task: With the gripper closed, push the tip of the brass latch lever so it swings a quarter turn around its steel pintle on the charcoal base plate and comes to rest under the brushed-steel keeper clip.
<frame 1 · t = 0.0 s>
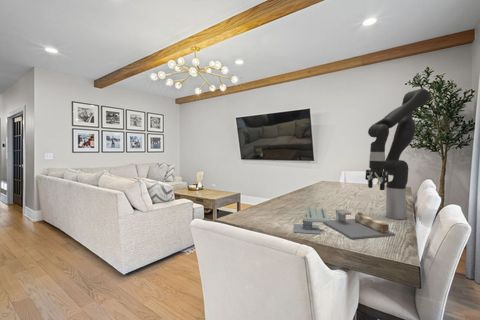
hand: (375, 188, 129), 17 cm above the table, tool pointing down, fingers open, 8 cm apart
steel keeper: (343, 216, 121), point 4 cm above the table
shower valve: (309, 230, 114), on the table
base plate: (359, 224, 121), on the table
brass latch lever: (370, 222, 114), point 3 cm above the table, hinge at 90.0°
metal bracket: (316, 218, 134), on the table
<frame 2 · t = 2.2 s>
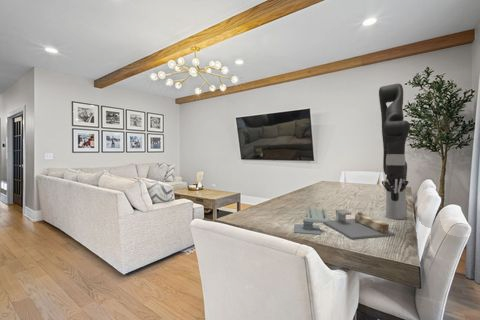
hand: (394, 200, 107), 15 cm above the table, tool pointing down, fingers closed
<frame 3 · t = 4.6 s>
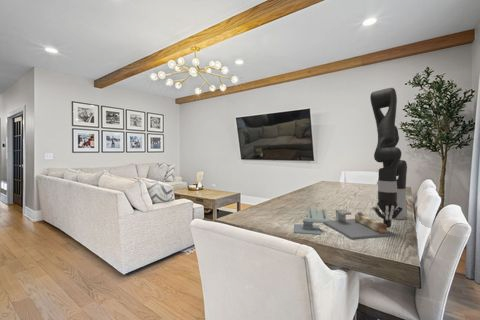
hand: (387, 227, 107), 3 cm above the table, tool pointing down, fingers closed
brass latch lever: (369, 222, 114), point 3 cm above the table, hinge at 86.5°, touching gripper
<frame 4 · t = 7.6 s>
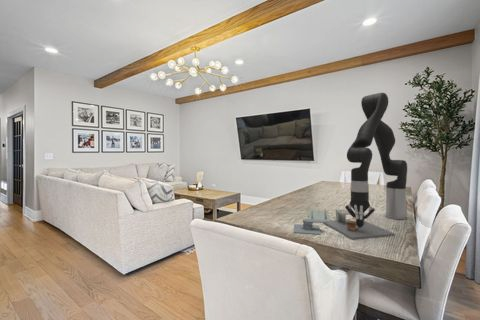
hand: (359, 226, 108), 3 cm above the table, tool pointing down, fingers closed
brass latch lever: (356, 221, 116), point 3 cm above the table, hinge at 39.1°, touching gripper
metal bracket: (318, 220, 131), on the table
everything else where it was.
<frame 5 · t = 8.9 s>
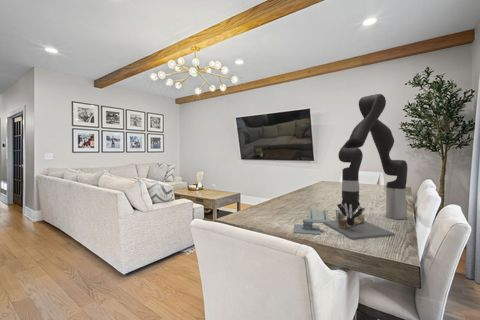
hand: (350, 225, 110), 3 cm above the table, tool pointing down, fingers closed
brass latch lever: (352, 220, 117), point 3 cm above the table, hinge at 24.0°, touching gripper
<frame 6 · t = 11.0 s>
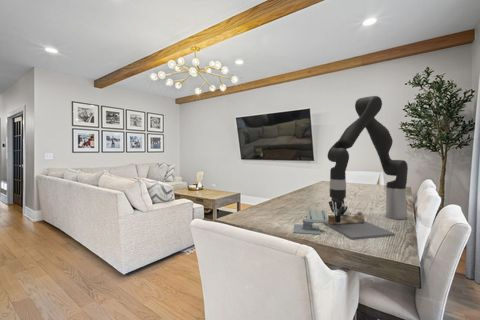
hand: (337, 222, 115), 3 cm above the table, tool pointing down, fingers closed
brass latch lever: (346, 218, 120), point 3 cm above the table, hinge at -2.1°
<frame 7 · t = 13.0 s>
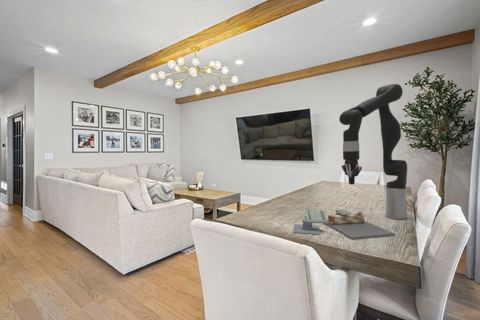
hand: (351, 184, 117), 22 cm above the table, tool pointing down, fingers closed
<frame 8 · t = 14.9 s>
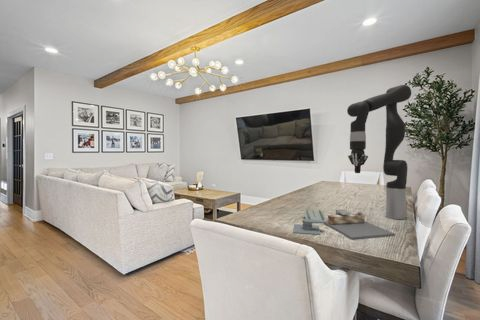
hand: (357, 173, 122), 27 cm above the table, tool pointing down, fingers closed
at the end: brass latch lever at -2° (first picture: +90°) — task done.
